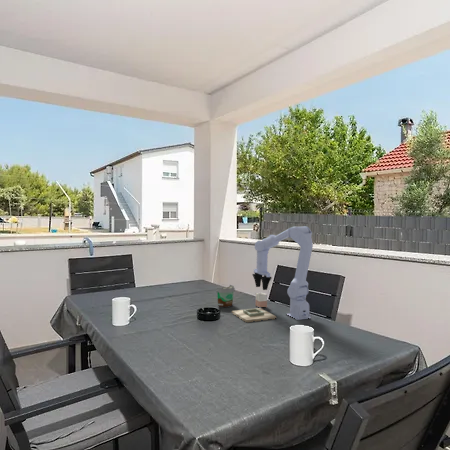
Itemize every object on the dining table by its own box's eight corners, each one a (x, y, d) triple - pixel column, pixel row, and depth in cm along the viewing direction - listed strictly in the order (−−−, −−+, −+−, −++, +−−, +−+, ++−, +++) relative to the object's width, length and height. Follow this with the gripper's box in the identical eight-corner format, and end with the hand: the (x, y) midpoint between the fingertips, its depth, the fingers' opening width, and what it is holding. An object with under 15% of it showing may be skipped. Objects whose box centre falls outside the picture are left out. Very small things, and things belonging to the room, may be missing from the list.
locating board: (276, 318, 171) (276, 313, 171) (246, 322, 165) (246, 317, 165) (260, 310, 186) (260, 305, 186) (231, 313, 179) (231, 308, 179)
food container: (225, 309, 187) (225, 289, 187) (216, 307, 191) (216, 288, 190) (239, 304, 197) (239, 286, 196) (230, 302, 201) (230, 284, 200)
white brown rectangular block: (266, 307, 192) (267, 294, 191) (259, 308, 190) (259, 295, 190) (262, 305, 196) (263, 292, 195) (255, 306, 194) (255, 293, 194)
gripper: (249, 261, 197) (248, 286, 197) (262, 265, 184) (261, 291, 184) (260, 260, 200) (259, 285, 200) (274, 264, 186) (273, 290, 187)
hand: (261, 288), depth 192 cm, fingers open, 7 cm apart
